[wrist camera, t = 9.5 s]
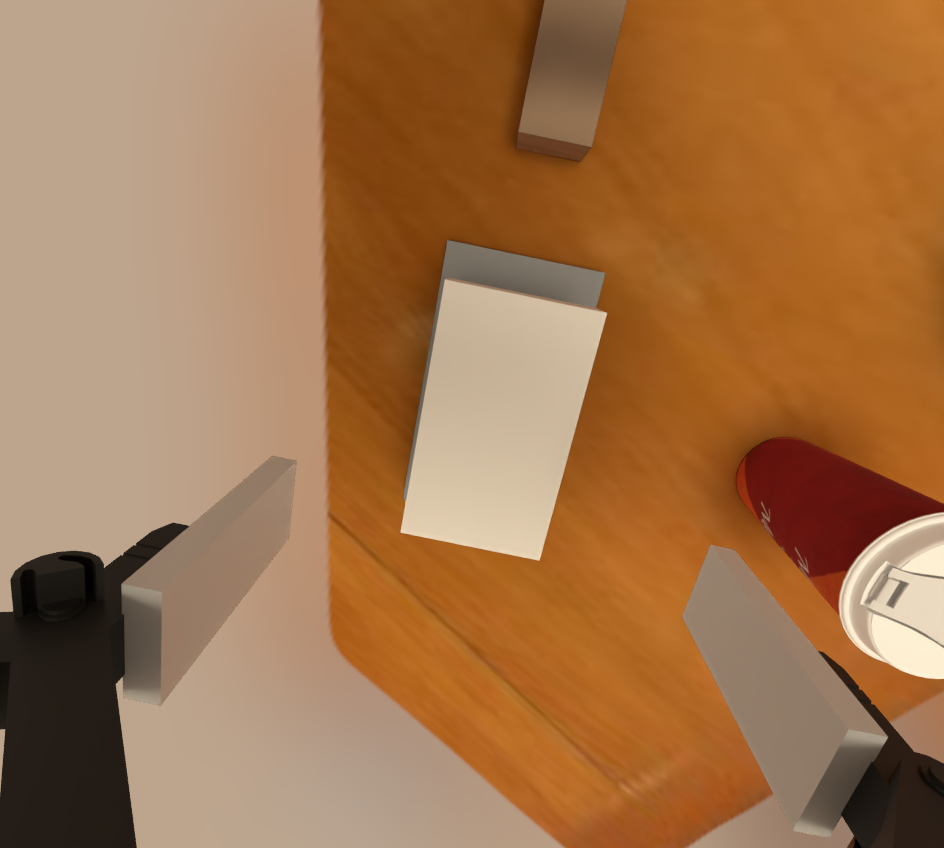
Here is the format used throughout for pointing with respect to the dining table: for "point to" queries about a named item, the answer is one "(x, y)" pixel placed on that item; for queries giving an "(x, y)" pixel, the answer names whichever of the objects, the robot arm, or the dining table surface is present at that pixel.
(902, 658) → the coffee cup
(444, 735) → the dining table surface
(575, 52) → the riser block
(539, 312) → the shelf board
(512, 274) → the peg stand
